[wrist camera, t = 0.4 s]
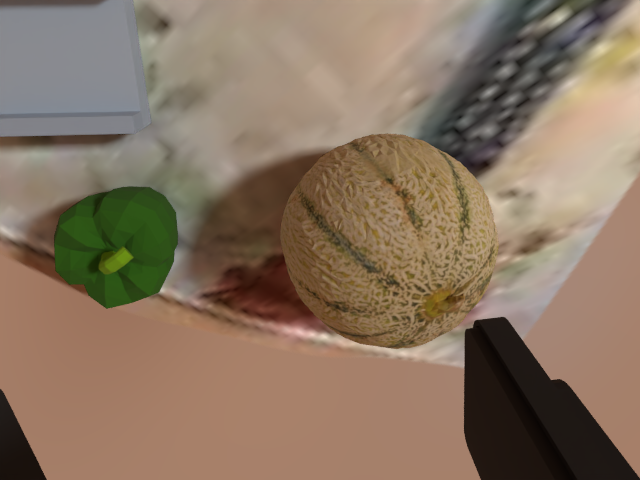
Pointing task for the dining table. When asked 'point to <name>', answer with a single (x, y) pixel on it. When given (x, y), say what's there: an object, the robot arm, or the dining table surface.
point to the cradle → (70, 68)
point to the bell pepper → (117, 244)
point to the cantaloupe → (389, 241)
